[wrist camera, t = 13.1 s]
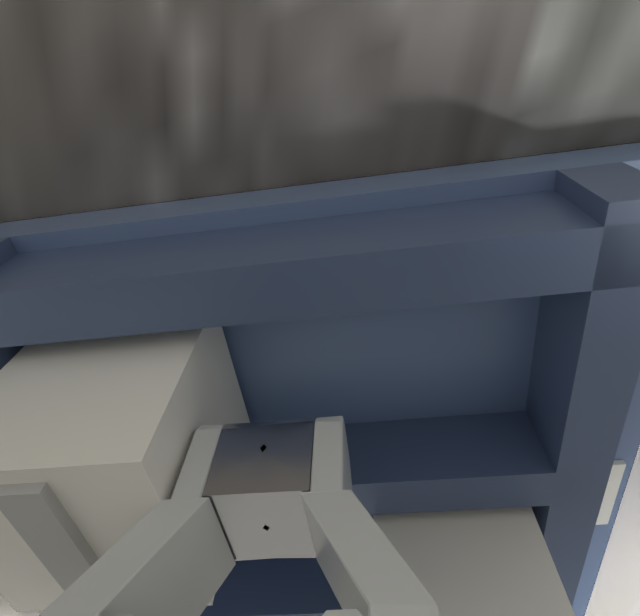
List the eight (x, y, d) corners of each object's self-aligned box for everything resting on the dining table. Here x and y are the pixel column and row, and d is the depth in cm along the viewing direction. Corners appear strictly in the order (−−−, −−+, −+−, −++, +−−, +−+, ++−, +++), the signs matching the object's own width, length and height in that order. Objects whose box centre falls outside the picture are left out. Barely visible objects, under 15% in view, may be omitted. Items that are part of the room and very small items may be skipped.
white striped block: (214, 302, 10) (135, 473, 6) (251, 428, 12) (210, 617, 8) (51, 318, 11) (-120, 489, 7) (113, 437, 13) (9, 623, 9)
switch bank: (692, 135, 10) (833, 176, 7) (562, 615, 20) (597, 708, 17) (-79, 232, 11) (-212, 296, 9) (166, 626, 22) (141, 712, 19)
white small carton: (512, 461, 13) (593, 659, 9) (502, 544, 15) (564, 735, 11) (369, 469, 13) (383, 662, 9) (379, 550, 15) (393, 736, 11)
